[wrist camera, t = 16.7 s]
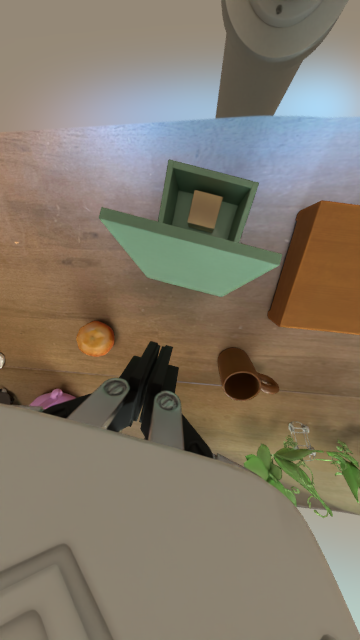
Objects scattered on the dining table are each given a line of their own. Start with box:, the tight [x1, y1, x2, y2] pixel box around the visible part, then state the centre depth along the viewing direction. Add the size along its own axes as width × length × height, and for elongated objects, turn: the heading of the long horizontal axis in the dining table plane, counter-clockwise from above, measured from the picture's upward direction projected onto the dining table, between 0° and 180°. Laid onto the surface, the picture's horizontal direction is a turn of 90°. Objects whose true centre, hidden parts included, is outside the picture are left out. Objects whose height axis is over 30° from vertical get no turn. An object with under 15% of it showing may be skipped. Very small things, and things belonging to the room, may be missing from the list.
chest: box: [158, 160, 259, 243], centre depth 30 cm, size 16×13×9 cm
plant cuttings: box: [244, 422, 360, 518], centre depth 42 cm, size 35×17×22 cm
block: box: [187, 190, 223, 233], centre depth 29 cm, size 5×5×5 cm
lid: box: [99, 207, 282, 297], centre depth 20 cm, size 16×13×1 cm
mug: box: [218, 348, 279, 401], centre depth 38 cm, size 12×8×9 cm, turn 79°
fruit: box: [76, 321, 114, 356], centre depth 40 cm, size 8×8×8 cm
